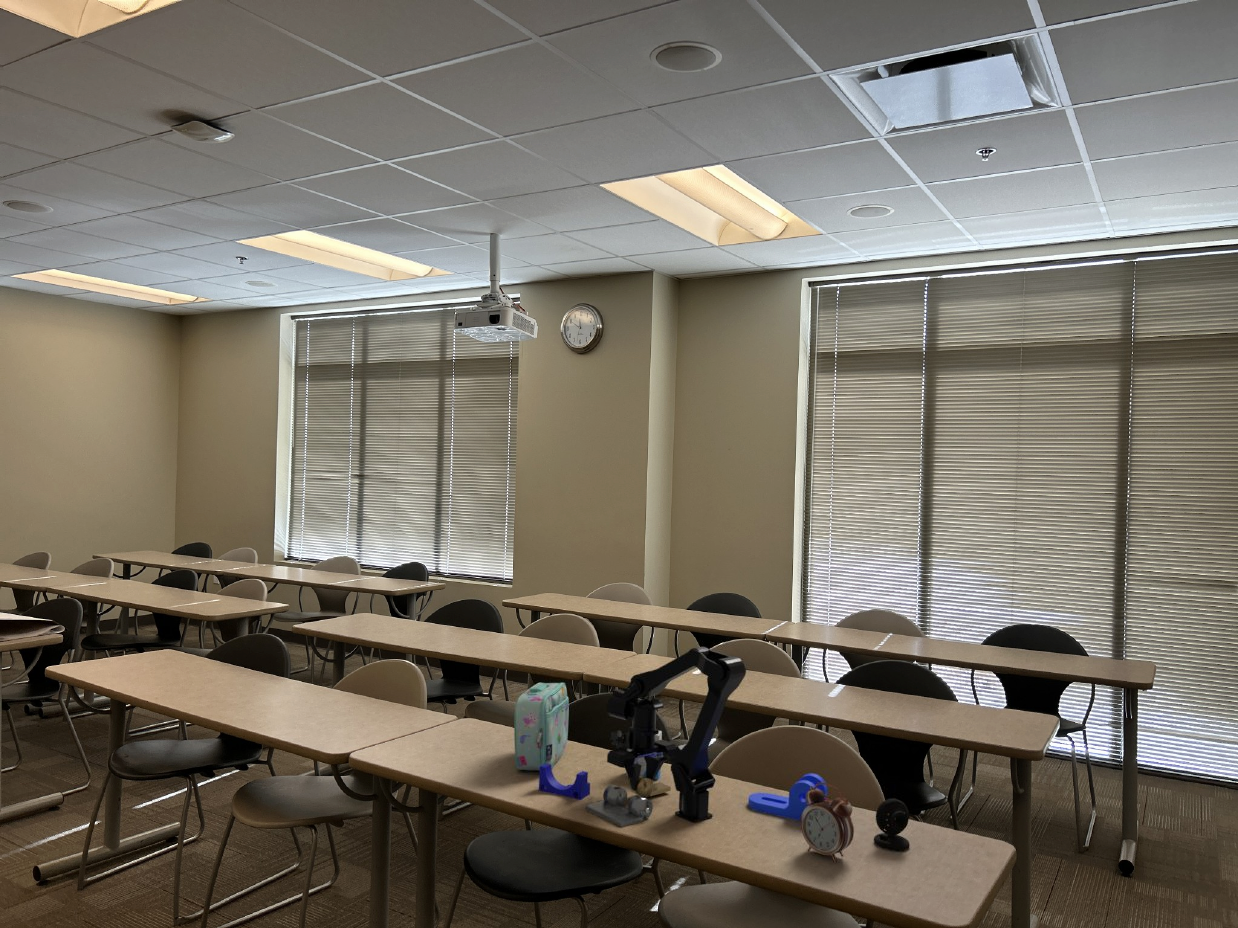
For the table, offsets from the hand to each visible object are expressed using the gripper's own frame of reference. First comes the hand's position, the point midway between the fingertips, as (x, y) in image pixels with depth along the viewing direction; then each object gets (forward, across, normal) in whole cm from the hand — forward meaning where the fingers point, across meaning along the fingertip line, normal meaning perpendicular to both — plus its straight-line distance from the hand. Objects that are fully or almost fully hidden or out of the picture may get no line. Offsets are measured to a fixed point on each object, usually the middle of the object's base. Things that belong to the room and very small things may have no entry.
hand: (641, 788), depth 214 cm
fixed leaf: (+2, +12, +5) cm, 13 cm away
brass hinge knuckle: (+2, -3, 0) cm, 3 cm away
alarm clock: (+2, -9, +48) cm, 49 cm away
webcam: (+2, -26, +53) cm, 59 cm away
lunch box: (+2, +4, -36) cm, 36 cm away
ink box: (+2, -12, -12) cm, 17 cm away
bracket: (+3, -23, +26) cm, 35 cm away
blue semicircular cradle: (+3, +13, -14) cm, 19 cm away
